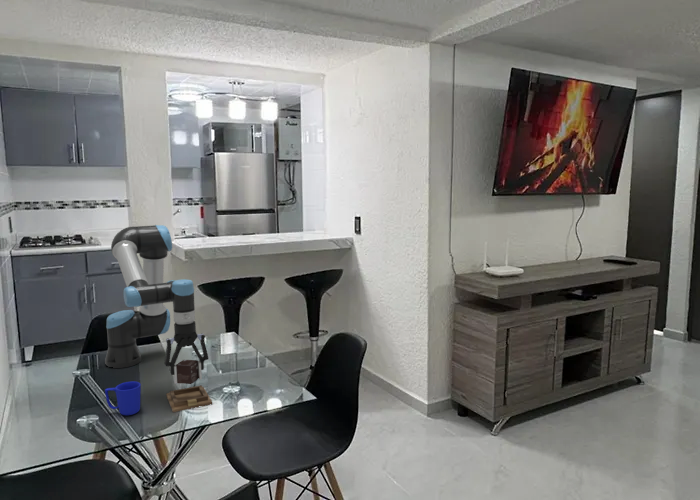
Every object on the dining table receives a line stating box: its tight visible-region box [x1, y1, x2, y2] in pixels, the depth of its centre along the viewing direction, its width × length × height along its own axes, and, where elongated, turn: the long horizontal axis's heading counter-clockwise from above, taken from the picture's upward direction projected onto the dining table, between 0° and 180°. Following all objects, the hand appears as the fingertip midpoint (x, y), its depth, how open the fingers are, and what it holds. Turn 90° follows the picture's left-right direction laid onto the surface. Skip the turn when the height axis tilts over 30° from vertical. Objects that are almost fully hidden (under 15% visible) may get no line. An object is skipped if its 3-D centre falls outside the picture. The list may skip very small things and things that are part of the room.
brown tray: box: [165, 385, 213, 413], centre depth 195 cm, size 16×14×2 cm
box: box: [175, 359, 200, 385], centre depth 193 cm, size 6×6×7 cm
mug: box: [104, 380, 142, 416], centre depth 184 cm, size 8×12×10 cm
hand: (187, 380), depth 194 cm, fingers closed on box, 8 cm apart
